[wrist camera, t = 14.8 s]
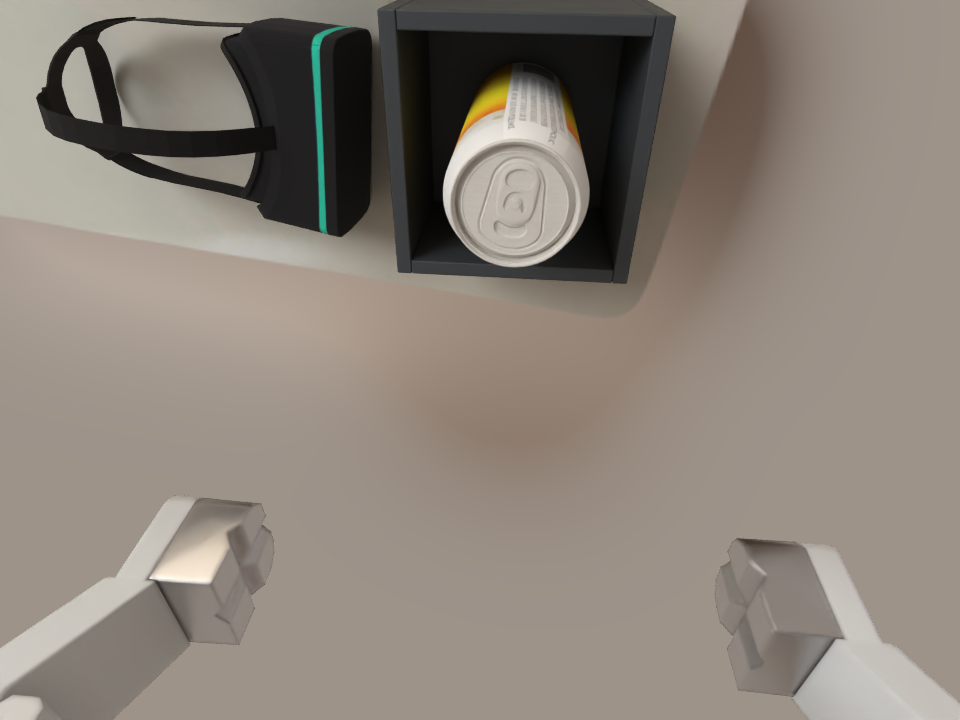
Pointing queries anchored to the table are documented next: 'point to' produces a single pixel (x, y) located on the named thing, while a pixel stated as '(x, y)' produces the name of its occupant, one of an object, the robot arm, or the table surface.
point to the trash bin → (594, 97)
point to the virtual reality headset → (276, 114)
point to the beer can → (517, 169)
